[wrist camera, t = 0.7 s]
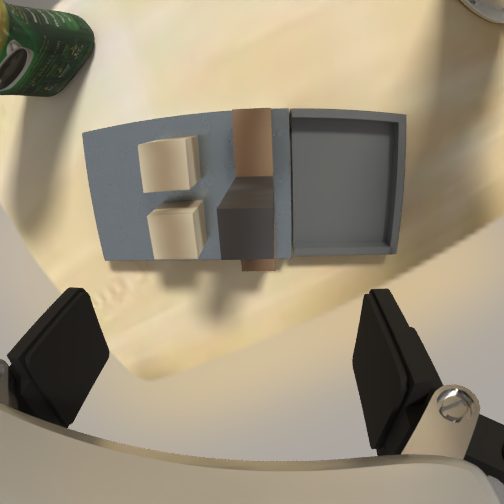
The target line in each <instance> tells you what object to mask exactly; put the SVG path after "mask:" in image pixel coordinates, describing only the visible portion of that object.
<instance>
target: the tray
mask: <svg viewBox="0 0 504 504" xmlns="http://www.w3.org/2000/svg"><path fill="white" fill-rule="evenodd" d="M291 136H292V177H293V252H294V256H325V255H378V254H396V252H397V245H398V237H399V229H400V221H401V212H402V201H403V190H404V175H405V157H406V115H403V114H394V113H384V112H372V111H359V110H340V109H291Z"/></svg>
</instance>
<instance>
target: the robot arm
mask: <svg viewBox="0 0 504 504" xmlns="http://www.w3.org/2000/svg"><path fill="white" fill-rule="evenodd" d="M460 1H461V2H462V3H463V4H464V5H465V6H467V7H468V8H469V9H470V10H471V11H473V12H474V13H476V14H477V15H479V16H480V17H482V18H484V19H486V20H488V21H490V22H493V23H500V24H502V23H504V0H460ZM7 357H8V358H9V360H10V362H11V365H10V366H8V364H7V363H6V362H5V361H4V360H2V359H0V504H504V425H503V424H500V423H498V422H496V421H494V420H492V419H489V418H487V417H485V416H483V415H480V414H479V411H480V405H479V401H478V399H477V398H476V396H475V394H473V393H472V392H471V391H470V390H469V389H467V388H465V387H463V386H459V385H446V386H443V384H442V382H441V380H440V378H439V376H438V373H437V371H436V369H435V367H434V365H433V363H432V361H431V359H430V357H429V356H428V353H427V351H426V349H425V347H424V345H423V343H422V342H421V340H420V338H419V336H418V334H417V332H416V330H415V329H414V328H412V327H409V325H408V323H407V321H406V319H405V317H404V316H403V314H402V312H401V310H400V308H399V306H398V305H397V303H396V301H395V299H394V297H393V295H392V294H391V292H390V290H389V289H371V290H370V292H369V294H365V295H364V298H363V305H362V310H361V316H360V323H359V328H358V333H357V338H356V344H355V349H354V353H353V370H354V374H355V378H356V382H357V386H358V391H359V395H360V399H361V404H362V408H363V413H364V418H365V422H366V427H367V432H368V437H369V442H370V446H371V448H372V449H376V450H377V455H378V456H374V457H362V458H351V459H338V460H321V461H276V462H274V461H243V460H226V459H215V458H205V457H196V456H188V455H180V454H174V453H168V452H161V451H156V450H150V449H145V448H140V447H135V446H130V445H126V444H122V443H117V442H113V441H109V440H105V439H102V438H98V437H94V436H91V435H87V434H84V433H80V432H77V431H74V430H70V429H67V428H68V426H69V424H71V423H73V421H74V420H75V418H76V416H77V414H78V412H79V410H80V408H81V406H82V404H83V403H84V401H85V399H86V397H87V395H88V394H89V392H90V390H91V388H92V386H93V385H94V383H95V381H96V379H97V377H98V376H99V374H100V372H101V370H102V369H103V367H104V365H105V364H106V362H107V360H108V358H109V348H108V346H107V343H106V341H105V338H104V336H103V333H102V330H101V328H100V325H99V322H98V319H97V316H96V314H95V311H94V308H93V305H92V302H91V299H90V296H89V294H88V293H87V292H86V291H85V290H84V289H83V288H68V289H67V290H66V291H65V292H64V293H63V294H62V295H61V296H60V297H59V298H58V299H57V300H56V301H55V302H54V303H53V304H52V305H51V306H50V307H49V309H47V311H46V312H45V313H44V314H43V315H42V316H41V317H40V318H39V319H38V320H37V321H36V323H35V324H34V325H33V326H32V327H31V328H30V329H29V330H28V331H27V333H26V334H25V335H24V336H23V337H22V338H21V339H20V341H19V342H18V343H17V344H16V345H15V346H14V348H13V349H12V350H11V351H10V352H9V353H8V355H7Z"/></svg>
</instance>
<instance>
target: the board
mask: <svg viewBox="0 0 504 504" xmlns="http://www.w3.org/2000/svg"><path fill="white" fill-rule="evenodd" d="M271 123H272V147H273V175H274V209H275V252H276V259H280V258H291V171H290V133H289V108H284V109H271ZM82 135H83V144H84V153H85V160H86V167H87V174H88V181H89V187H90V193H91V198H92V204H93V209H94V214H95V219H96V224H97V229H98V234H99V238H100V242H101V247H102V251H103V255H104V259H105V261H109V260H210V259H221V252H220V241H219V231H218V220H217V208H218V206H219V204H220V203H221V201H222V199H223V198H224V196H225V194H226V193H227V191H228V189H229V188H230V186H231V184H232V183H233V181H234V179H235V178H236V171H235V154H234V138H233V121H232V111H221V112H209V113H199V114H190V115H181V116H173V117H166V118H159V119H152V120H146V121H140V122H134V123H128V124H123V125H117V126H112V127H107V128H103V129H98V130H93V131H89V132H84V133H82ZM189 136H197V138H198V151H199V163H200V174H201V180H200V181H198V182H197V183H196V184H195V185H194V186H193V187H192V188H191V189H189V190H174V191H161V192H148V193H143V185H142V178H141V170H140V162H139V153H138V145H140V144H143V143H147V142H151V141H155V140H162V139H171V138H180V137H189ZM202 200H203V206H204V216H205V226H206V235H207V242H206V244H205V246H204V248H203V250H202V252H201V254H200V256H199V258H198V259H154V254H153V248H152V243H151V237H150V231H149V225H148V219H147V216H148V215H149V214H150V213H151V212H152V211H153V210H155V209H156V208H157V207H158V206H159V205H160V204H162V203H167V202H183V201H202Z"/></svg>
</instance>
